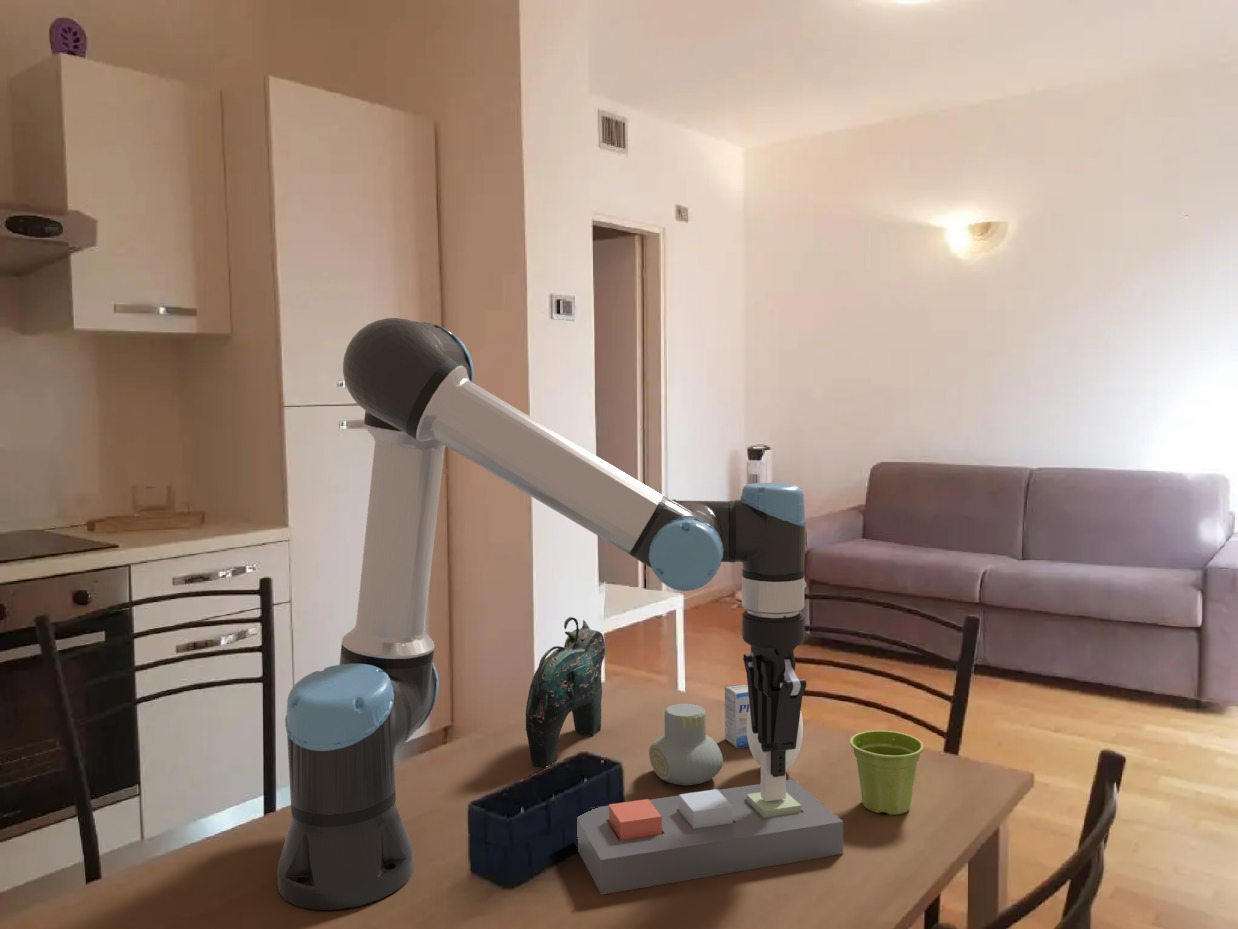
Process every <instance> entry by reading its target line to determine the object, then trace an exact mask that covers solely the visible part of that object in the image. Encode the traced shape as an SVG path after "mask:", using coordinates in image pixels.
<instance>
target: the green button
mask: <svg viewBox="0 0 1238 929" xmlns="http://www.w3.org/2000/svg"><path fill="white" fill-rule="evenodd" d="M747 804H748V805H749V806H750V807H751V808H752V809H753V810H754V811H755V812H756V813H757V814H758V815H759V816H760V817H761V818H762V819H764V818H770V817H777V816H783V815H790V814H797V813H801V805H800V804H799V803H798V802H797V801H796V800H795V799H793V798H792V797H791V796H790V795H789V794H788V793H787V792H786V799H779V800H773V801H765V800H764V799H763V798H762V797H761V792H759V793H752V794H747Z"/></svg>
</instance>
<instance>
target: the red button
mask: <svg viewBox="0 0 1238 929" xmlns="http://www.w3.org/2000/svg"><path fill="white" fill-rule="evenodd" d="M649 800H650V799H649V798H645V799H638V800H632V801H625V802H624V801H623V802H618V803H610V804H608V806H609V826H610V827H611V829H612V830H613V832H614V834H615V835H616V837H617V838H618V840H619V841H620V840H627V839H633V838H640V837H646V836H653V835H660V834H662V816H661V815H660V814H659V812H658V811H657V810H656V808H655V807H654V806H653V805H652V803H651V802H650V801H649Z"/></svg>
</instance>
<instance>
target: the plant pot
mask: <svg viewBox="0 0 1238 929" xmlns="http://www.w3.org/2000/svg"><path fill="white" fill-rule="evenodd" d="M849 745H850V747H851V748H852V749H853V754H854V756H855V758H856V764H857V765H856V766H857V770H858V777H859V785H860V793H861V800H862V802H861V803H862V805H863V806H864V807H865V809H867V810H868V811H871V812H874V813H877V814H880V813H886V814H888V815H901V814H904V813H906V812H908V811H909V810H910V808H911V803H912V797H913V791H914V783H915V776H916V770H917V764H918V762H919V761H920V760H919V759H920V755H921V753H922V752H923V751H924V743H923V742H922V741H921V740H920V739H918V738H917V737H914V736H912V735H910V734H906V733H903V732H900V731H899V732H898V731H893V730H868V731H867V730H866V731H863V732H858V733H856V734H854V735H852V736H851V737H850V739H849Z"/></svg>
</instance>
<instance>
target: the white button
mask: <svg viewBox="0 0 1238 929" xmlns="http://www.w3.org/2000/svg"><path fill="white" fill-rule="evenodd" d="M718 790H719V789H716V788H714V789H710V790H702V791H701V790H700V791H694V792H688V793H681V794H678V796H679V814H680V815H681V816H682V817H683V819H684V820H685V821H686V822H687V824H688V825H689V826H690V827H691V828H692V829H699V828H705V827H712V826H718V825H725V824H731V823H733V805H732V804H731V803H730V802H729V801H728V800H727V799H726V798H725V797H724V796H723V795H722V794H721V793H720V792H719V791H718Z"/></svg>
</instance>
